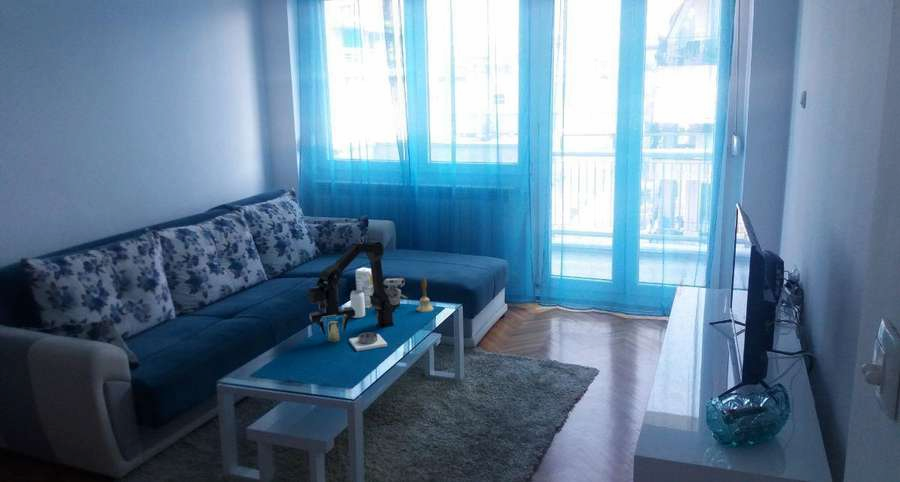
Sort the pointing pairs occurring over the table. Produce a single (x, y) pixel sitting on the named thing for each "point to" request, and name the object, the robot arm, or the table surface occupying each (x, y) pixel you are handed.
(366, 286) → the juice carton
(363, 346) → the socket base
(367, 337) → the socket collar
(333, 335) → the brass cylinder
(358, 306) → the can
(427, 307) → the hand bell
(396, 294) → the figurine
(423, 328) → the table surface
